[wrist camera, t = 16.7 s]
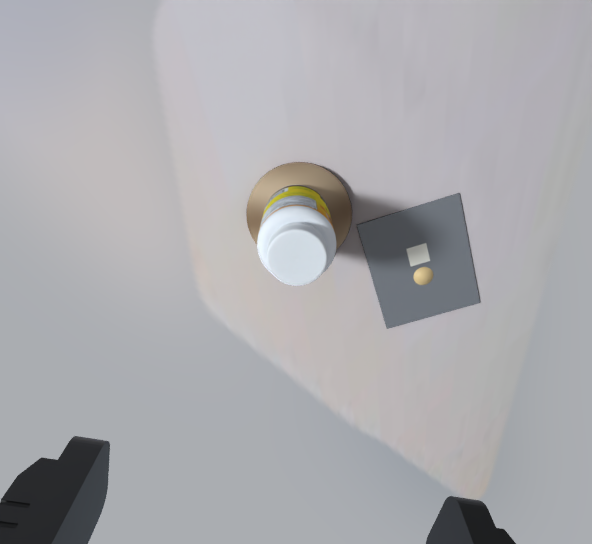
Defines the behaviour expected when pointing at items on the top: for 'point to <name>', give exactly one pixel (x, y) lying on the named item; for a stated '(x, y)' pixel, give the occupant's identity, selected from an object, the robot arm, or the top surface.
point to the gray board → (420, 261)
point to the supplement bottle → (296, 235)
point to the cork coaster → (308, 177)
